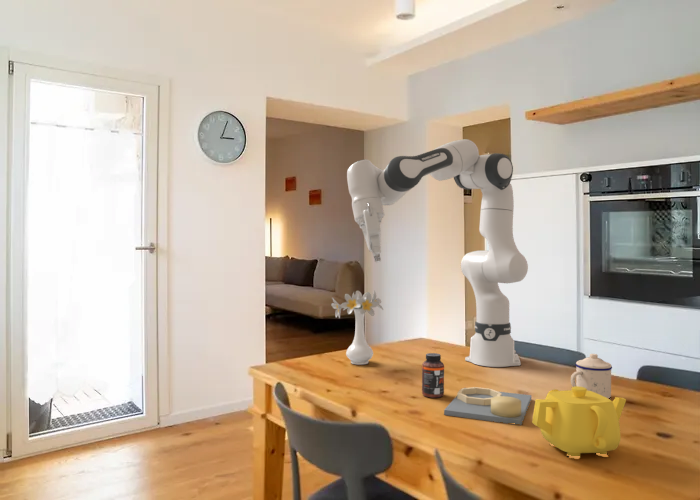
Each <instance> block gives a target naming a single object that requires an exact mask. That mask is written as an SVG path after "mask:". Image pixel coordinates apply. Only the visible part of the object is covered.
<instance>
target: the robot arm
mask: <svg viewBox="0 0 700 500" xmlns="http://www.w3.org/2000/svg"><path fill="white" fill-rule="evenodd" d="M513 172H514V166H513V163H512V161H511V159H510V157H509V156H508V155H506V154H504V153H495V152H494V153H490V154H481V155H480V151H479V148H478V146H477V145H476V143H475V142H474V141H472V140H470V139H467V138H466V139H457V140H453V141H450V142H447V143H444V144H442V145H439V146H437V147H436V148H434V149H432V150H430V151H426V152H424V153H421V154H418V155H413V156H411V155H410V156H409V155H399V156H395V157H394V158H392V159H391V160H390V161H389V163H388V164H387V165H386V167H385V168H384V169H381V168H379V167H377V166H376V165H375V164H374V163H372V161H371V160H370V159H360V160H357V161H355V162H353V163H352V164H351V165H350V166H349V167H348V168H347V171H346V180H347V186H348V187H347V188H348V193H349V195H350V197H351V208H352V213H353V217H354V221H355V223H357V225H358V226H359V229H361V232H362V234H363V237H364V241H365V243H366V247H367V249H368V251H369V252H370V253H372V256H373V260H374V262H375V263H376V264H377V263H380V262H381V261H382V260H381V255H380V254H381V252H382V250H381V223H382V220H383V218H384V216H385V211H384V207H383V206H392V205H394V204H395V203H397V202H398V201H400V200H401V199H402V198H403V197H404V196H405V195H406V194H407V193H408V192H409V191H410V190H412V189H413V188H415V187H417V185H418V184H419V183H420V182H421V180H422V178H424V177H425V176H428V175H430V176H431V177H432V178H433V179H434V180H437V181H439V182H441V181H442V182H443V181H446V180H447V181H448V180H449V179H452V178H453V180H454V182H455V183H456V185H457V187H459V188H460V189H463V190H478V189H479V190H480V192H481V193H482V197H481V202H480V213H479V226H478V227H479V228H478V230H479V234H480V235H481V236H482V237H483V239H485V240H486V241H487V244H488V250H480V249H479V250H474V251H470V252H467V253H465V254H464V255H463V257H462V258H461V263H460V268H461V269H460V270H461V273H462V275H463V276H464V278H466V279H467V281H468V282H469V283H470V285H471V288H472V290H473V294H474V297H475V305H476V307H475V308H476V309H475V310H476V311H475V313H476V320H475V325H474V332H475V333H474V335H472V336H471V337H470V349H469V355H468V356H465V357H464V358H465V359H464V360H465V362H466V361H467V362H470V363H472V364H475V365H478V366H481V367H482V366H483V367H491V368H506V367H513V366H514V367H516V366H521V364H522V363H521V360H520V357H519V354H517V350H515V340H514V338H513V337H512V336H511V333H512V330H511V329H512V326H511V322H510V300H509V298H508V297H507V296H506V295H505V294H504V293H503V292H502V291H501V289H500V286H499V284H513V283H518V282H521V281H523V280H524V279H525V277H527V273H528V271H529V270H528V269H529V264H528V261H527V258H526V257H525V256H524V254H522V253H521V252H520V251H519V249H518V247H517V245H516V242H515V238H514V234H513V231H514V228H513V226H514V225H513V224H514V202H515V201H514V192H513V191H514V190H513V186H512V184H511V181H512V178H513V174H514V173H513Z"/></svg>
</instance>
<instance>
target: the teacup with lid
mask: <svg viewBox="0 0 700 500" xmlns="http://www.w3.org/2000/svg"><path fill="white" fill-rule="evenodd" d="M575 367H576V369H575V370H576V371H574V372H573V373H572V374H571V375H570V384H571V386H572V387H575V386H579V387H584V388H586V389H587V390H588V391H592V392H595V393H597V394H599V395H602V396H604V397H606V398H610V397H611V398H612V369H613V367H612V364H611V363H610V362H607V361H605V360H603V359H602V358H600V357H599V355H598V354H597V353H589V357H585V358H583V359H580V360H577V361H576V362H575ZM611 398H610V399H611Z"/></svg>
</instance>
